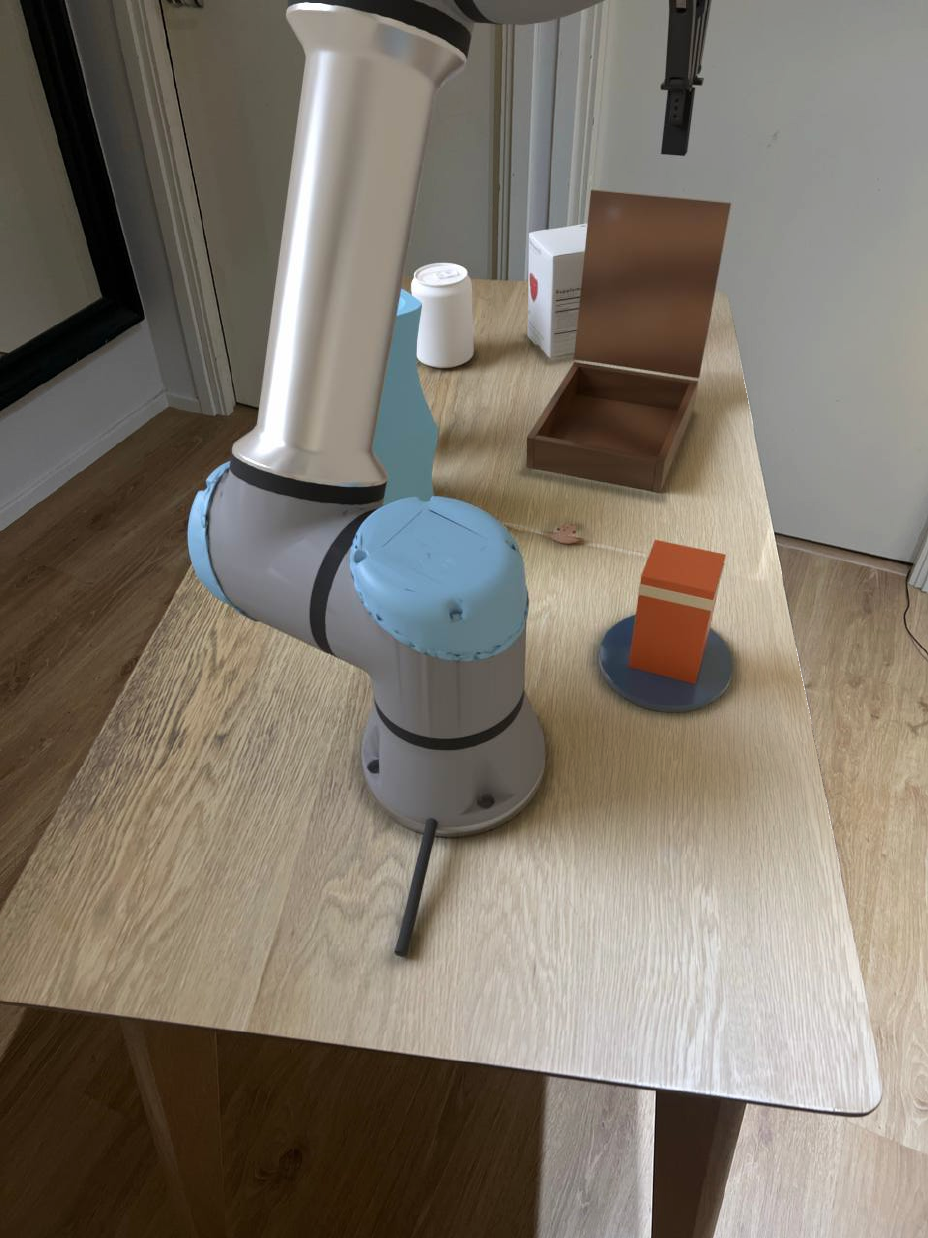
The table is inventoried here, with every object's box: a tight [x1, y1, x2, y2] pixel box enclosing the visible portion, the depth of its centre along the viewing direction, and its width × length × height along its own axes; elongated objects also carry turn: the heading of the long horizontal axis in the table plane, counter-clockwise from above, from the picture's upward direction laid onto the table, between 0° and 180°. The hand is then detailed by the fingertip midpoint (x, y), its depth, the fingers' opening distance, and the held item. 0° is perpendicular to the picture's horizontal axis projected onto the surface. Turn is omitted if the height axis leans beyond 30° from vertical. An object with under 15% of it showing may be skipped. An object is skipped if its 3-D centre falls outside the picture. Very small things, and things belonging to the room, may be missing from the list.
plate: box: [598, 614, 734, 713], centre depth 81 cm, size 12×12×1 cm
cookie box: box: [629, 539, 727, 684], centre depth 77 cm, size 5×6×11 cm
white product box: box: [527, 222, 588, 358], centre depth 122 cm, size 9×9×15 cm
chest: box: [525, 361, 699, 494], centre depth 106 cm, size 19×16×5 cm
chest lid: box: [573, 188, 732, 379], centre depth 107 cm, size 20×16×5 cm
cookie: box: [547, 523, 583, 544], centre depth 95 cm, size 4×4×1 cm
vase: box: [373, 288, 439, 506], centre depth 90 cm, size 10×10×25 cm
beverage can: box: [410, 262, 475, 369], centre depth 121 cm, size 8×8×12 cm
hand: (674, 152), depth 101 cm, fingers closed
